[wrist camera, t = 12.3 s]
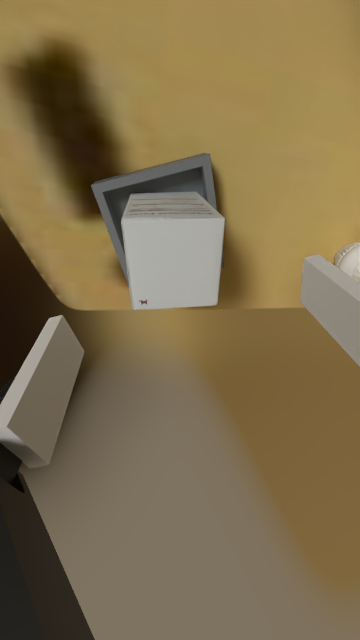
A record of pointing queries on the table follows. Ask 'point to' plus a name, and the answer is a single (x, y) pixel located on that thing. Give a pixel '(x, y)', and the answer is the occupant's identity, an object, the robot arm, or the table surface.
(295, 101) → the table surface
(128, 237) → the supplement box
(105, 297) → the table surface
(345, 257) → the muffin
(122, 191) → the charcoal tray
